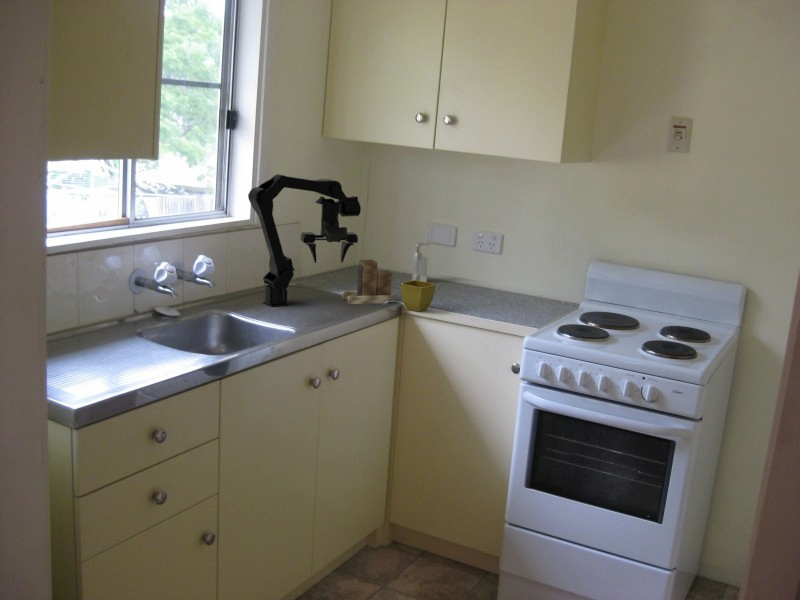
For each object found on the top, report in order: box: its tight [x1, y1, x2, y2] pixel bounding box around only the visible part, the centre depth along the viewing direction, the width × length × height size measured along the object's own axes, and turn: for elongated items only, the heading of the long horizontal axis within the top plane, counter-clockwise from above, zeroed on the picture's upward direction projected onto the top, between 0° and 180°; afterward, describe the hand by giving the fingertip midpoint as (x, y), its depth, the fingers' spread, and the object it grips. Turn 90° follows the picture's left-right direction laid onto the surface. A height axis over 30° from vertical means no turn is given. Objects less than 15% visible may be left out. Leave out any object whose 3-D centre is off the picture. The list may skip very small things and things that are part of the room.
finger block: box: [356, 259, 379, 296], centre depth 306 cm, size 5×5×14 cm
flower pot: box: [400, 279, 437, 313], centre depth 298 cm, size 9×9×9 cm
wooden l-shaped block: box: [341, 270, 395, 305], centre depth 307 cm, size 16×9×10 cm, turn 108°
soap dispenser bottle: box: [410, 241, 431, 282], centre depth 342 cm, size 7×7×15 cm
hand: (328, 262), depth 303 cm, fingers open, 9 cm apart
